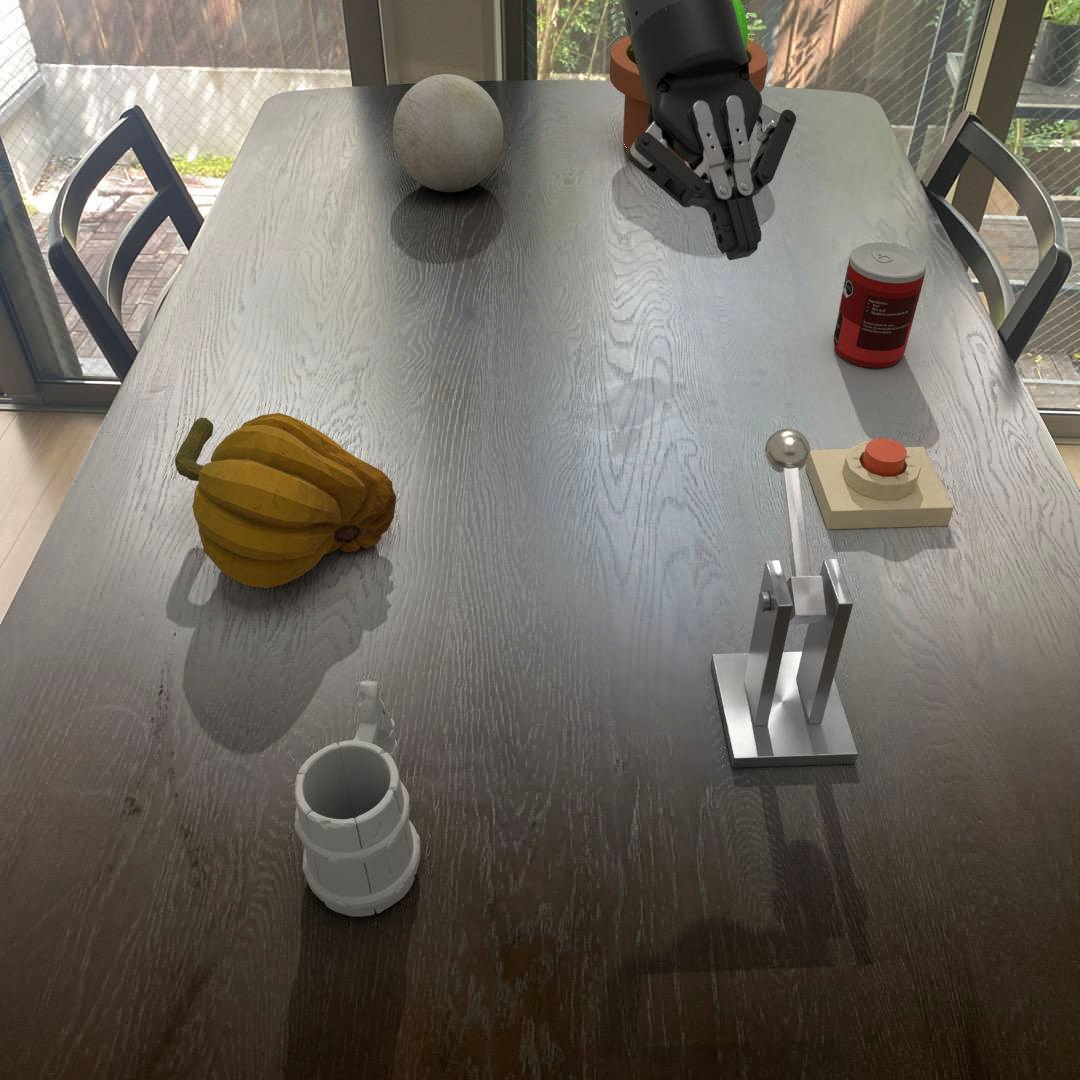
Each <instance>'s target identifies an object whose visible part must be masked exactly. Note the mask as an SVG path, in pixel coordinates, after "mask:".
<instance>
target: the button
mask: <svg viewBox="0 0 1080 1080" xmlns="http://www.w3.org/2000/svg"><path fill="white" fill-rule="evenodd" d="M869 441H870V442H868V443H867V445H866V448H865V452H864V457H863V461H862V464H863V467H864V468H865V469H866V470H867V471H869V472H870V473H872V474H875V475H879V476H882V477H894V476H897V475H899V474H900V473H901V472H902V470H903V467H904V463H905V459H906V456H907V451H906V449H905V447H906V446H904V445H903V444H902V443H901V442H899V441H896V440H894V439H891V438H885V437H884V438H883V437H880V438H874V439H871V440H869Z"/></svg>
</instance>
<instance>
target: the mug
mask: <svg viewBox="0 0 1080 1080" xmlns="http://www.w3.org/2000/svg"><path fill="white" fill-rule="evenodd" d="M359 693H360V697H359V704H358V707H357V709H358V710H357V711H358V729H357V731H356V733H355V736H354V738H353V740H352V739H351V740H350V739H349V740H343V741H339V742H333V743H331V744H329V745H326V746H324V747H323V748H321V749H320V750H318V751H316V752H315V753H313V754H312V755H310V756H309V757H308V758H307V760H305V762H304V763H302V765H301V767H300V768H299V770H298V772H297V773H298V774H296V777H295V784H294V799H295V806H296V807H295V814H294V825H293V826H294V831H295V833H296V834H297V836H298V838H299V839H300V841H301V843H302V845H303V846H304V849H303V855H302V868H301V869H302V872H303V874H304V876H305V880H306V882H307V884H308V886H309V888H310V890H312V892H313V894H314V895H315V896H316V897H317V898H318V899H319V900H320V901H322V902H323V903H324V905H325V906H326V907H327V908H328V909H329V910H331V911H333V912H336V913H339V914H341V915H345V916H348V917H358V918H359V917H369V916H374V915H375V913H376V914H380V913H382V912H384V911H385V910H387V909H389V908H391V907H393V905H395V904H396V903H398V902H400V901H401V900H402V899H403V898H404V897H405V896H406V895H407V894H408V892H409V891H410V889H411V888H412V886H413V883H414V881H415V880H416V879H415V877H416V874H418V872H417V871H418V868H419V864H420V861H421V837H420V835H419V834H418V832H417V830H416V827H415V826H414V824H413V822H412V821H411V820H410V814H411V813H410V812H411V806H410V805H411V804H410V803H411V797H410V794H409V792H408V790H407V788H406V786H405V785H404V784H403V781H402V780H401V778H400V773H399V769H398V767H397V765H398V762H399V746H398V742H397V740H396V738H397V726H396V722H395V720H394V719H393V718H392V715H391V713H390V712H389V711H388V709H387V707H386V705H385V703H384V701H383V700H382V699H381V697H380V688H379V683H378V682H377V681H373V680H362V681H360V683H359Z"/></svg>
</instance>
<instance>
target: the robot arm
mask: <svg viewBox="0 0 1080 1080" xmlns="http://www.w3.org/2000/svg"><path fill="white" fill-rule="evenodd" d="M620 3H621V9H622V13H623V14H622V15H623V18H624V25H625V30H626V33H627V34H628V35H627V36H630V40H631V44H632V48H633V51H634V55H635V59H636V63H637V66H638V70H639V74H640V78H641V81H642V85H643V89H644V92H645V96H646V98H647V100H648V101H649V112H648V116H647V122H648V126H649V127H648V128H647V130H646V131H645V132H642V133H641V134H639V136H638V137H637V139H636V140H635V141H634V143H633V144H632V146H631V147H630V148H629V150H628V152H627V151H626V158H627V160H628V161H629V162H630V163H631V164H632V165H633V166H635V168H637V169H638V170H639V171H640V172H641V173H643V174H644V175H645V176H646V177H647V178H649V179H650V180H651V181H652V182H653V183H654V184H655V185H656V186H658V187H659V188H660V189H661V190H662V191H664V192H665V193H666V194H667V195H668V196H669V197H671V199H673V200H674V201H675V202H676V203H677V204H679V205H680V206H681V207H683V208H686V209H687V208H691V207H698V208H701V209H703V210H705V211H706V212H707V214H708V216H709V219H710V223H711V227H712V231H713V234H714V238H715V241H716V245H717V248H718V250H719V251H720V253H721V254H725V255H726V258H727V260H729V261H733V260H739V259H743V258H748V257H749V258H750V256H751V255H752V254H754V253H755V252H756V251H758V248H759V243H760V242H761V241H762V230H761V226H760V222H759V218H758V215H757V212H756V208H755V203H754V200H753V199H754V197H756V196H757V195H758V194H759V193H760V192H761V191H762V189H764V188H765V187H766V186H767V185H769V184H770V183H771V182H772V181H773V179H774V177H775V174H776V172H777V169H778V167H779V164H780V162H781V160H782V157H783V155H784V152H785V150H786V147H787V145H788V142H789V140H790V138H791V134H792V133H793V130H794V127H795V125H796V123H797V115H796V113H795V112H794V111H792V110H791V109H784V110H783V111H782V112H778V111H776V110H774V109H773V108H771V107H769V106H768V105H765V104H764V103H763V97H762V94H761V92H759V91H758V89H757V88H756V87H755V86H754V85H753V83H752V81H751V79H750V76H749V64H748V57H747V53H746V49H745V46H744V42H743V39H742V35H741V31H740V28H739V24H738V20H737V16H736V13H735V9H734V5H733V2H732V0H620ZM755 126H756V141H758V142H759V143H760V145H759V146H758V149H757V152H756V155H755V157H754V159H753V161H752V164H751V167H750V161H751V148H750V144H749V142H750V140H751V137H752V134H753V131H754V129H755ZM668 147H669V148H670V149H672V150H673V151H674V152H675V153H676V154H677V155H678V156H679V157H680V158H681V159H682V160H684V161H685V163H683V162H682V161H681V160H680V159H679V158H678V157H676V156H675V155H674V154H673V153H672V152H671V151H670V150H668Z"/></svg>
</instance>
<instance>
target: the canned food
mask: <svg viewBox="0 0 1080 1080" xmlns="http://www.w3.org/2000/svg"><path fill="white" fill-rule="evenodd" d="M926 270H927V261H926V259H925V258H924V257H923V255H922V254H920V253H918V251H916V250H914V249H912V248H909V247H907V246H903V245H901V244H898V243H897V244H896V243H892V242H891V243H890V242H877V241H876V242H867V243H863V244H859V245H858V246H856V247H855V248H853V249H852V251H851V253H850V256H849V259H848V263H847V267H846V273H845V277H844V282H843V288H842V293H841V298H840V302H839V307H838V313H837V318H836V322H835V328H834V333H833V346H834V350H835V352H836V353H837V354H838V355H839V357H841V358H842V359H844V360H845V361H847V362H849V363H851V364H852V365H853V364H854V365H855V366H859V367H864V368H870V369H881V368H882V369H883V368H888V367H892V366H894V365H895V364H897V363H899V361H900V360H901V359H902V357H903V356H904V354H905V352H906V349H907V346H908V342H909V338H910V334H911V330H912V326H913V322H914V318H915V314H916V311H917V308H918V304H919V299H920V296H921V291H922V288H923V285H924V281H925V276H926V272H927V271H926Z"/></svg>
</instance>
